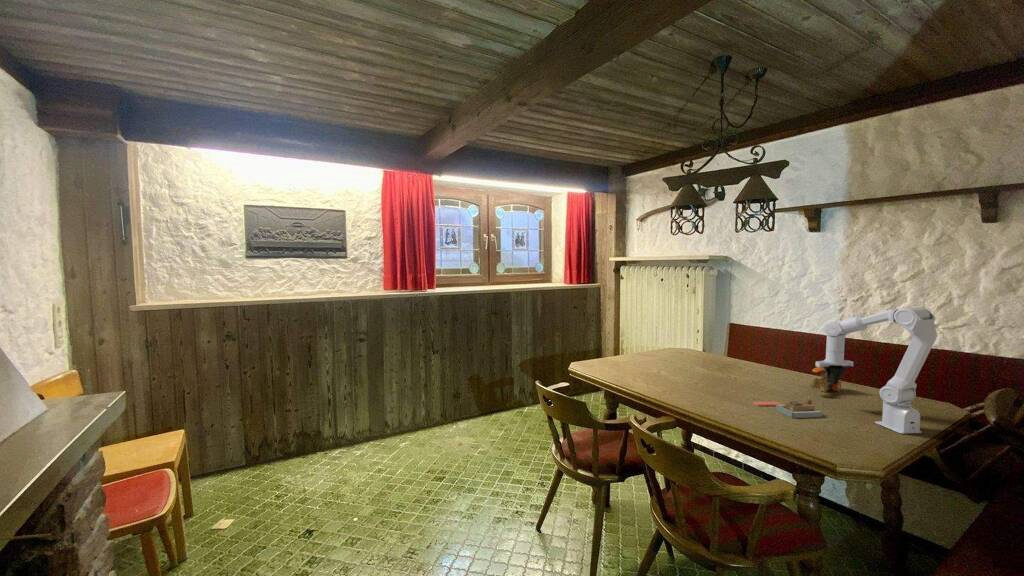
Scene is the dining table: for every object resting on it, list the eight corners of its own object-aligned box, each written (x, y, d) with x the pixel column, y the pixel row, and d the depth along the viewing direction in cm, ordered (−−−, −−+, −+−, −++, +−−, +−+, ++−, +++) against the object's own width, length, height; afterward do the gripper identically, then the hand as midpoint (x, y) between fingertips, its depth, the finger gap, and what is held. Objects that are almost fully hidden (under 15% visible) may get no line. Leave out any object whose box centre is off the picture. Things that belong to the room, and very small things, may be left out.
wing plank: (777, 404, 169) (777, 401, 169) (782, 407, 165) (782, 404, 165) (753, 404, 169) (753, 401, 169) (757, 407, 166) (757, 404, 165)
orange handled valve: (842, 390, 184) (843, 361, 183) (822, 399, 173) (824, 368, 172) (821, 385, 191) (822, 357, 190) (801, 394, 180) (802, 364, 179)
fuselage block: (814, 415, 156) (814, 401, 155) (792, 416, 155) (792, 402, 155) (806, 411, 160) (806, 398, 159) (784, 412, 159) (785, 398, 159)
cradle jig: (821, 417, 154) (822, 412, 154) (791, 418, 153) (791, 413, 153) (804, 408, 162) (804, 404, 162) (775, 409, 161) (776, 405, 161)
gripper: (843, 348, 166) (841, 380, 167) (810, 349, 165) (808, 381, 166) (858, 352, 159) (857, 385, 160) (824, 353, 158) (822, 386, 159)
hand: (833, 383), depth 163 cm, fingers closed
